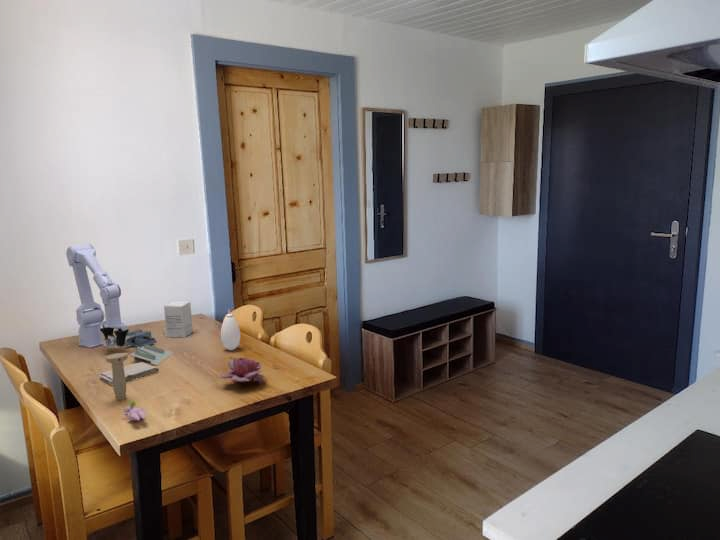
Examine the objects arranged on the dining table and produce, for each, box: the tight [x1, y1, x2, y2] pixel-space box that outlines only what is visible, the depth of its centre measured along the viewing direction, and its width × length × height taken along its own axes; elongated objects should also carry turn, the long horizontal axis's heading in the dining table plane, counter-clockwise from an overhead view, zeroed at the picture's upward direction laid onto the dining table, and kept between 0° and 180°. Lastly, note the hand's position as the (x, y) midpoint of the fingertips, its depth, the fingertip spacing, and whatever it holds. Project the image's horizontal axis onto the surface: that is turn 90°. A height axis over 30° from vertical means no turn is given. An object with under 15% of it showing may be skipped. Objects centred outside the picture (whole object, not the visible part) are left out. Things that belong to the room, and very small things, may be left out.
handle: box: [105, 352, 128, 401], centre depth 178 cm, size 5×6×15 cm
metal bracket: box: [130, 344, 175, 366], centre depth 217 cm, size 14×6×15 cm
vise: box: [102, 328, 157, 349], centre depth 230 cm, size 16×20×6 cm
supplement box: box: [163, 300, 194, 338], centre depth 248 cm, size 9×9×15 cm
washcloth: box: [98, 361, 160, 387], centre depth 200 cm, size 12×18×3 cm, turn 140°
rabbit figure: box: [121, 399, 147, 421], centre depth 164 cm, size 6×6×15 cm
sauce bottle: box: [220, 310, 241, 351], centre depth 225 cm, size 8×8×18 cm
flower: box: [220, 356, 266, 385], centre depth 189 cm, size 15×15×10 cm
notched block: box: [108, 333, 120, 349], centre depth 226 cm, size 5×3×4 cm, turn 60°
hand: (115, 344), depth 227 cm, fingers open, 7 cm apart
